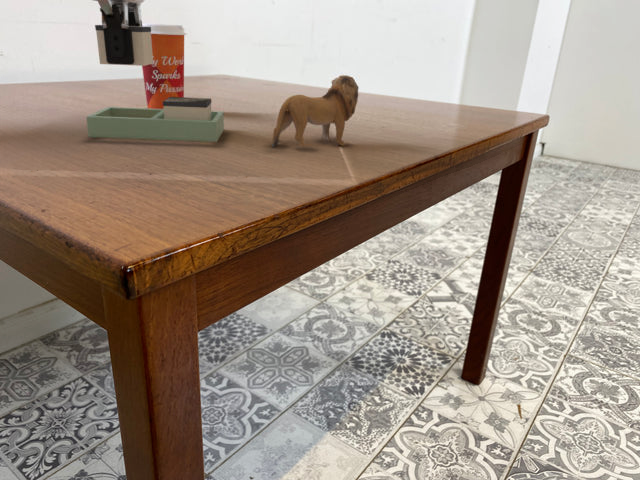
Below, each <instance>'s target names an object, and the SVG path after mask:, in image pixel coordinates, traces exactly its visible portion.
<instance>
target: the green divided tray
mask: <svg viewBox="0 0 640 480" xmlns="http://www.w3.org/2000/svg"><path fill="white" fill-rule="evenodd" d="M224 113H225V112H224V111H219V110H218V111H216V110H211V119H212V121H205V120H180V119H164V109H148V107H147V108H145V107H144V108H143V107H123V106H122V107H121V106H120V107H119V106H106V107H104V108H102V109H100V110H98V111H96V112H93V113H91V114H89V115H87V116H85V117H86V126H87V134H88V138H102V139H103V138H106V139H108V138H109V139H129V140H131V139H132V140H159V141H185V142H212V143H213V142H214V143H217V142H218V140H219V139H220V137H221V136H222V134H223V132H224V131H225V118H224V117H225V114H224Z"/></svg>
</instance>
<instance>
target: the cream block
mask: <svg viewBox="0 0 640 480" xmlns="http://www.w3.org/2000/svg"><path fill="white" fill-rule="evenodd" d="M94 29H95V32H96V41H97V49H98V58H99V64H100V65H110V66H111V65H116V66H141V67H142V66H146V65H149V64H152V63H153V54H152V41H151V27H143V26H128V30H132V41H133V52H134V63H133V64H109V63H108V62H107V60H106V50H105V41H104V32H103V29H104V28H103V26H102V24H95V25H94Z"/></svg>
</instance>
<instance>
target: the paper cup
mask: <svg viewBox="0 0 640 480" xmlns="http://www.w3.org/2000/svg"><path fill="white" fill-rule="evenodd" d="M142 26H143V27H151V41H152V54H153V63H152V64H149V65H146V66H141V69H142V76H143V85H144V91H145V98H146V106H147V108H148V109H164V106H163V101H164V100H166V99H167V98H169V97H185V36H187V35H188V33H186V32H185V28H184V27H183V25H178V24H162V23H143V22H142Z"/></svg>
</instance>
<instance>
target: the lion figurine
mask: <svg viewBox="0 0 640 480" xmlns="http://www.w3.org/2000/svg"><path fill="white" fill-rule="evenodd" d="M358 98H359V85H358V84H357V81H356V80H355V79H354V77H353V76H349V75H346V74H345V75H344V74H342V75H339V76H338V77H335V78H334V79H332V80H331V86H330V87H329V88H328V90H327V92H326V93H325V94H324V95H322V96H318V97H311V96H306V95H304V94H295V95H291V96H289V97H288V98H286V99H285V100H284V102H282V104H281V107H280V109H279V111H278V115H277V116H278V117H277V120H276V121H277V122H276V127H275V128H274V129H273V134H272V144H271V148H276V147H278V145H279V144H283V142H282V140H280V136H281V134H282V132H284V131H285V130H286V129H287V128H288V127H290V126H291V125H292V123H293V125H294V128H295V134H294V139H295V141H296V142H297V144H298V145H299V146H301V147H309V146H311V145H310V144H309V143H306V142H305V141H304V133H305V130H306V127H307V125H308V123H309V124H311V125H314V126H322V127H321V128H322V132H321V133H322V134H321V139H323V140H329V139H330V128H331V127H330V126H331V124H334V125H335V137H334V140H335V142H336V144H337V146H342V147H343V146H346V142H345V141H344V140H343V135H344V131H345V128H346V127H345V126H346V122H348V121H349V120H350V118H352V117H353V115H354V114H355V112H356V108H357V105H358Z"/></svg>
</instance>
